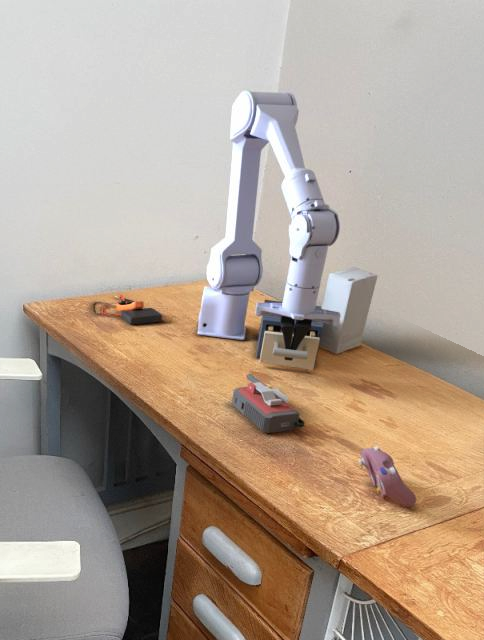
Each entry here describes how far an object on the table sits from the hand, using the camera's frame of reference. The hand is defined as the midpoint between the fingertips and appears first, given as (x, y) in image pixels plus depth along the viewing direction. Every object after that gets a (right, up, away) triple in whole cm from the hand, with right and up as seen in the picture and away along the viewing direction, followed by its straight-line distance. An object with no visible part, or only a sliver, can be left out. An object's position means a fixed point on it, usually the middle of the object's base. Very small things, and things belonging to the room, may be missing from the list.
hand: (288, 358), depth 141 cm
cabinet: (+2, +4, +12) cm, 13 cm away
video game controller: (+6, -25, -32) cm, 41 cm away
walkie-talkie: (-7, -11, -11) cm, 17 cm away
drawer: (+1, +1, +6) cm, 6 cm away
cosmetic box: (+13, +5, +16) cm, 22 cm away
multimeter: (-30, +15, +26) cm, 43 cm away
